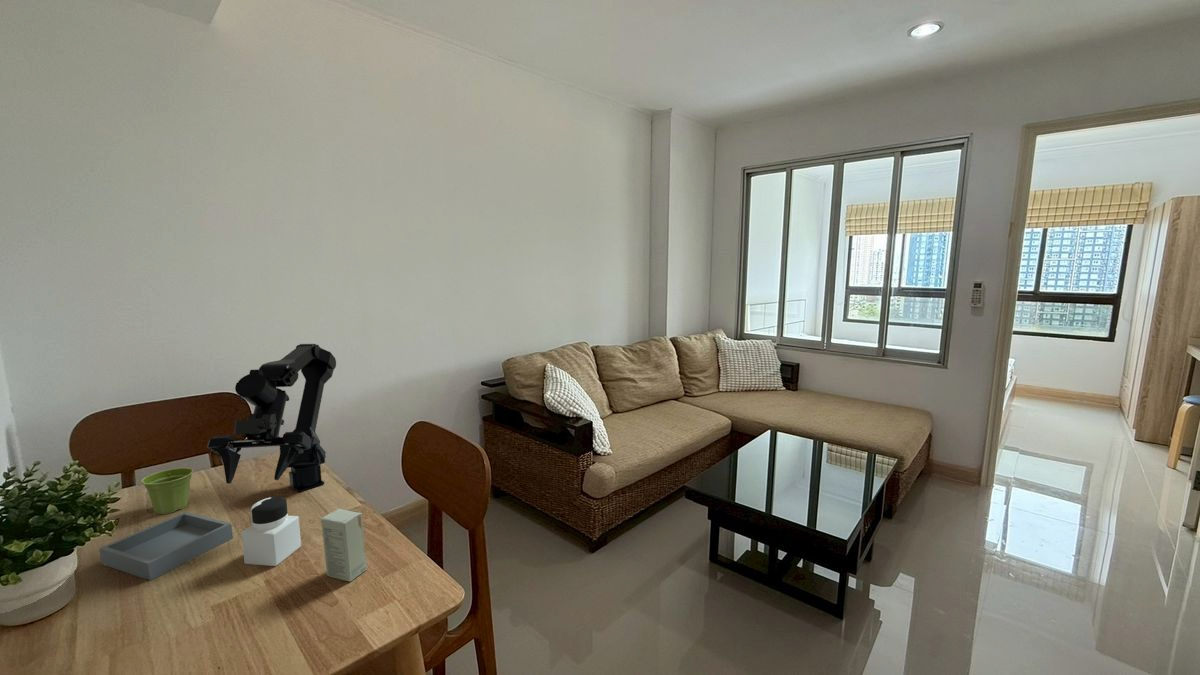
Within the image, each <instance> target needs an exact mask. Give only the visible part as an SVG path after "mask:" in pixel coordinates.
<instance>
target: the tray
mask: <svg viewBox="0 0 1200 675" xmlns="http://www.w3.org/2000/svg"><path fill="white" fill-rule="evenodd" d="M232 527H233V526H232V523H231V522H227V521H223V520H218V519H215V518H212V517H207V516H203V515H200V514H196V513H192V512H187V511H184V512H181V513H179V514H176V515H174V516H171V517H170V518H168V519H166V520H163V521H161V522H158V523H156V524H154V525H151V526H149V527H147V528H144V529H141V530H139V531H137V532H134V533H132V534H130V535H127V536H125V537H123V538H121V539H118V540H115V541H114V542H111V543H109V544H106V545H104V546H101V547H99V554H100V555H99V556H100V562H101V565H102V564H105V565H107V566H106V567H108V566H110V567H109V568H111V567H113V568H112V569H114V568H115V569H114V570H117V569H118V571H120V570H121V572H123V571H124V572H125V573H127V574H130V575H133V576H135V577H139V578H141V579H145V580H148V581H152V580H154V579H156V578H158V577H160V576H162V575H163V574H165V573H168V572H169V571H171V570H174V569H175V568H177V567H179V566H182V565H183V564H186V563H187V562H189V561H191V560H194V558H197V557H199V556H201V555H202V554H205V553H207V552H209V551H211V550H212V549H215V548H216V547H218V546H221V545H222V544H224V543H226V542H228V541H230V540H232V539H233V538H234V536H233V528H232ZM105 565H104V566H105Z"/></svg>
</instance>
